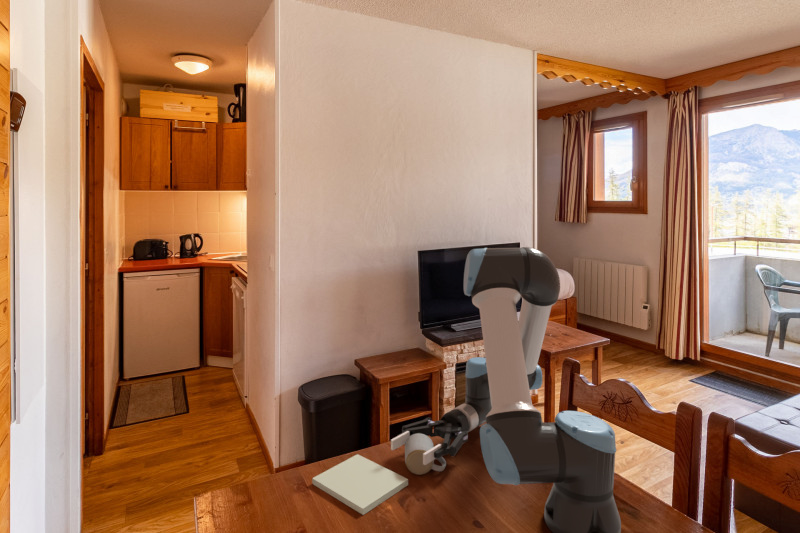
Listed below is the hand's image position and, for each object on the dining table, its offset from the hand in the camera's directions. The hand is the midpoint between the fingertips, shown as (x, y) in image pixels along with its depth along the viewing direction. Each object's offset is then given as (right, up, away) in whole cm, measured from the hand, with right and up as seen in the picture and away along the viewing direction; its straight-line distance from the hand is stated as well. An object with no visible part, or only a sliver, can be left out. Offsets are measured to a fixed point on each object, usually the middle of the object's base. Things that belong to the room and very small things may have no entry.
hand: (407, 452), depth 120 cm
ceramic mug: (+4, -6, +4) cm, 8 cm away
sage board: (-12, -7, -3) cm, 14 cm away
